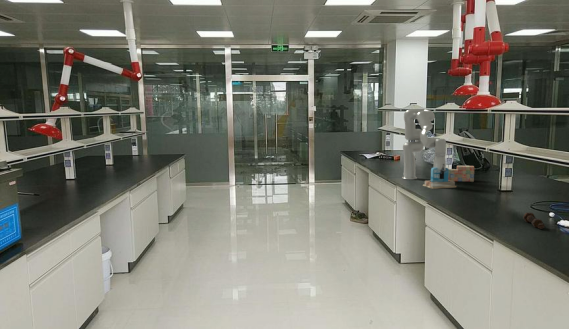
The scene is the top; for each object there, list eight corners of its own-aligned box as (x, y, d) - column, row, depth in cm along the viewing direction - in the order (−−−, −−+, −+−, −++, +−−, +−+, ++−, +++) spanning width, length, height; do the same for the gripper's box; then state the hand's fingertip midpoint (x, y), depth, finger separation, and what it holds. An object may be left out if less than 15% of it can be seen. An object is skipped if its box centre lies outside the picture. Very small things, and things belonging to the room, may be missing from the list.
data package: (432, 183, 314) (432, 168, 312) (430, 182, 318) (430, 167, 317) (448, 183, 314) (448, 167, 312) (446, 182, 318) (446, 167, 317)
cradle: (422, 185, 321) (422, 180, 321) (445, 184, 325) (446, 179, 324) (432, 188, 308) (432, 183, 307) (456, 187, 311) (456, 182, 311)
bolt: (539, 233, 202) (526, 223, 217) (549, 228, 201) (535, 219, 215) (533, 223, 202) (521, 214, 216) (543, 218, 200) (530, 210, 215)
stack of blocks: (445, 181, 338) (446, 166, 336) (444, 179, 344) (445, 165, 342) (474, 181, 333) (474, 166, 331) (472, 180, 339) (473, 165, 337)
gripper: (429, 153, 321) (429, 176, 323) (441, 156, 304) (441, 180, 307) (438, 153, 322) (437, 176, 325) (451, 155, 305) (450, 179, 308)
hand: (439, 178), depth 316 cm, fingers closed on data package, 5 cm apart
